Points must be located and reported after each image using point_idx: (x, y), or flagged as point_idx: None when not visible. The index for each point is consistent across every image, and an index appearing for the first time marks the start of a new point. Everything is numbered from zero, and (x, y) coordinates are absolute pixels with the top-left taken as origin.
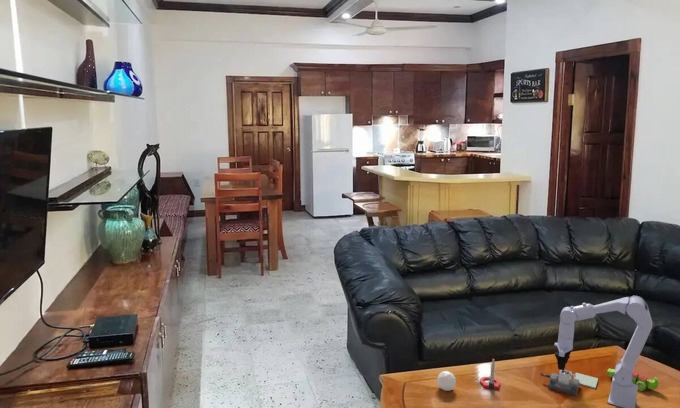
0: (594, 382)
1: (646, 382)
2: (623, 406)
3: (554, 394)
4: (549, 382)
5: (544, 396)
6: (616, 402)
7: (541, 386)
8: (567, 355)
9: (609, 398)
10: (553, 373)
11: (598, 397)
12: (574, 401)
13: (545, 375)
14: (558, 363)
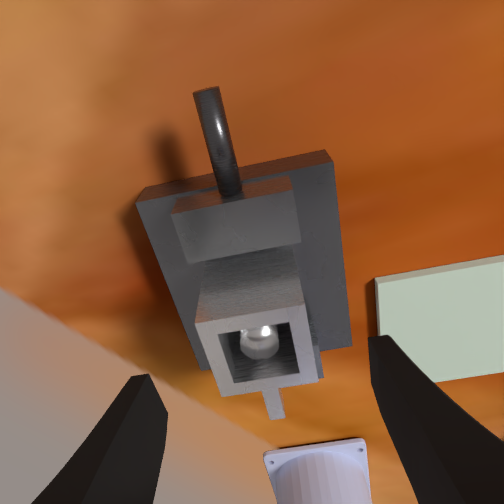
0: (448, 371)
1: None
2: (276, 494)
3: (103, 255)
4: (165, 200)
5: (6, 219)
6: (276, 485)
7: (123, 136)
8: (420, 487)
9: (306, 452)
10: (281, 205)
11: (291, 413)
12: (138, 358)
13: (208, 145)
14: (87, 454)
